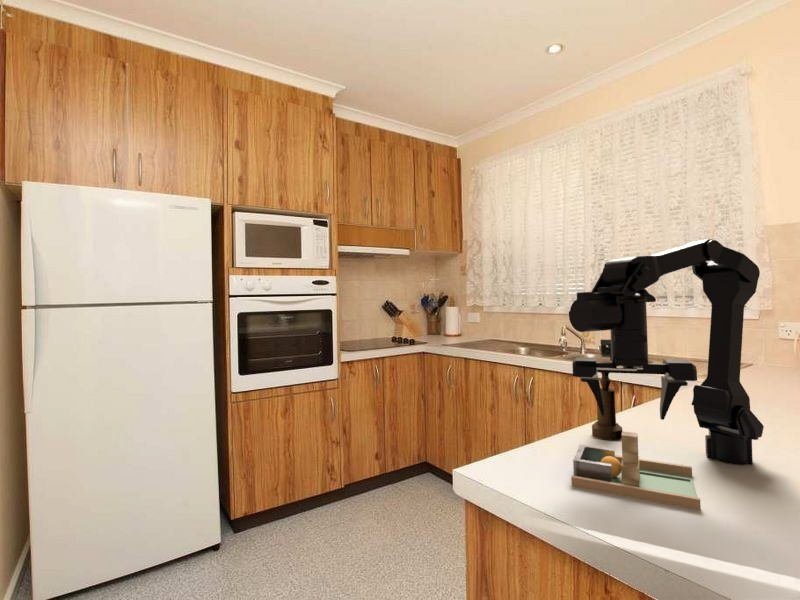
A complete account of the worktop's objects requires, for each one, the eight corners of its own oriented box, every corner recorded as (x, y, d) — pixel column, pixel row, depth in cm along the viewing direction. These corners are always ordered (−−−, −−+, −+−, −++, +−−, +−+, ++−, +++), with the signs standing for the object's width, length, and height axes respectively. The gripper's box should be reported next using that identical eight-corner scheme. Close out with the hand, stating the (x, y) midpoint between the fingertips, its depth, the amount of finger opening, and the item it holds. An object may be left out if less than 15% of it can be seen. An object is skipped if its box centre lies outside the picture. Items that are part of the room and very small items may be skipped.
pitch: (691, 480, 74) (691, 466, 74) (700, 516, 62) (700, 499, 62) (582, 462, 83) (582, 450, 83) (571, 491, 71) (571, 477, 71)
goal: (615, 467, 78) (614, 449, 78) (611, 486, 70) (611, 466, 70) (580, 462, 81) (580, 444, 81) (573, 480, 73) (573, 460, 73)
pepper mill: (586, 432, 102) (584, 358, 102) (611, 431, 102) (609, 357, 102) (602, 441, 95) (599, 362, 95) (629, 439, 96) (626, 361, 96)
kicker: (639, 473, 75) (638, 430, 75) (639, 486, 70) (637, 440, 70) (623, 470, 76) (622, 428, 76) (621, 483, 71) (620, 438, 71)
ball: (621, 454, 75) (600, 452, 77) (620, 461, 72) (598, 458, 74) (622, 474, 75) (601, 471, 77) (621, 481, 72) (599, 478, 74)
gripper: (680, 325, 77) (683, 409, 77) (572, 326, 85) (574, 402, 85) (696, 330, 67) (699, 426, 67) (571, 330, 74) (574, 417, 74)
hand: (631, 417), depth 74 cm, fingers open, 9 cm apart
